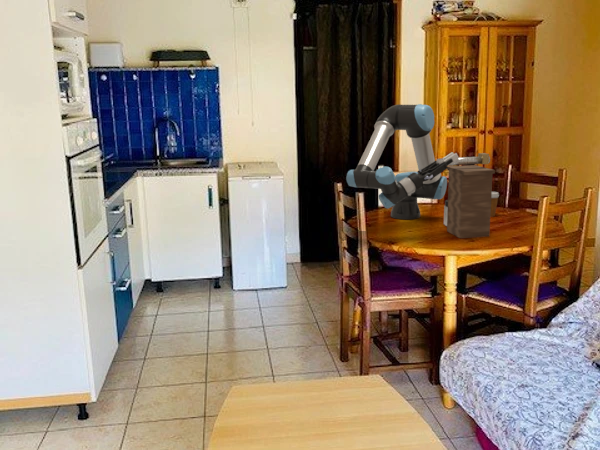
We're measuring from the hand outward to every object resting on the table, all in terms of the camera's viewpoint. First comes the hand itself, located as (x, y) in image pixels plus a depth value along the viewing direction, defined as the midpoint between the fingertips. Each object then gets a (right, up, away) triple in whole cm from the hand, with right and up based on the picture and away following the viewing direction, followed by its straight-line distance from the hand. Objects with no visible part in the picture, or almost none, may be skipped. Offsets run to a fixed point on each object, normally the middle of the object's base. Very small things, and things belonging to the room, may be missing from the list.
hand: (455, 155), depth 263 cm
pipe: (+4, -4, +2) cm, 6 cm away
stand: (+8, -35, +9) cm, 37 cm away
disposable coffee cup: (+29, -26, +47) cm, 61 cm away
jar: (+6, -31, +27) cm, 42 cm away
